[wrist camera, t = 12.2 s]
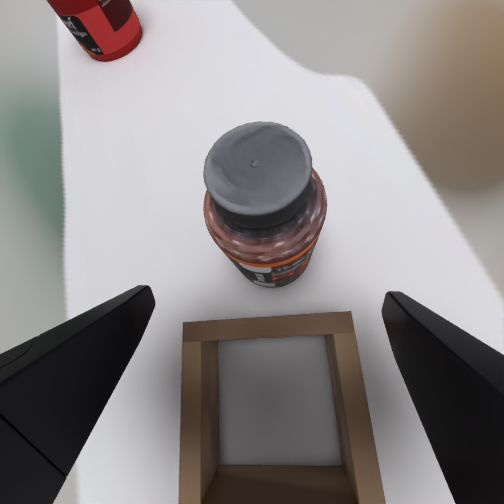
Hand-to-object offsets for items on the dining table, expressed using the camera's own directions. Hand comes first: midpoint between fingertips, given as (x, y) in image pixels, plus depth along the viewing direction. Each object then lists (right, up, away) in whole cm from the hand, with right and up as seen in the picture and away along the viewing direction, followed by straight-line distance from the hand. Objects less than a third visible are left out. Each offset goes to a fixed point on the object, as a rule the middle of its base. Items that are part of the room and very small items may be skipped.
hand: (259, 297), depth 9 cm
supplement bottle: (+1, +2, +10) cm, 11 cm away
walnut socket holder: (+1, -8, +7) cm, 11 cm away
